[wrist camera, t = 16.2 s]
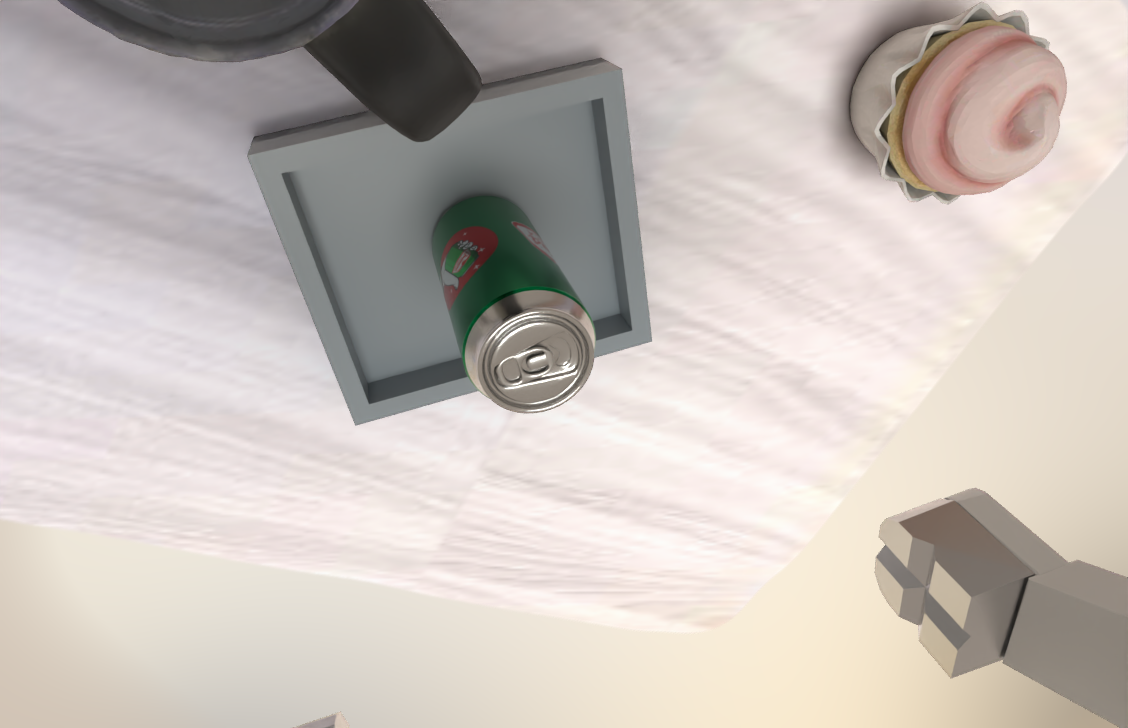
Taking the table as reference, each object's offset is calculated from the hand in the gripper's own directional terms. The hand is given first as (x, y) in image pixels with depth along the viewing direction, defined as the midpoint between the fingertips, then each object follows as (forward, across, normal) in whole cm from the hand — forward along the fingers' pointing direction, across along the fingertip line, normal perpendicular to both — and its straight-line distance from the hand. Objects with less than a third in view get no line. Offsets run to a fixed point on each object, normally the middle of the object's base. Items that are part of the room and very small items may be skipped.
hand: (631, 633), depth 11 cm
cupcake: (+28, -26, +3) cm, 38 cm away
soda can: (+28, -2, +6) cm, 28 cm away
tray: (+28, -2, +6) cm, 29 cm away
